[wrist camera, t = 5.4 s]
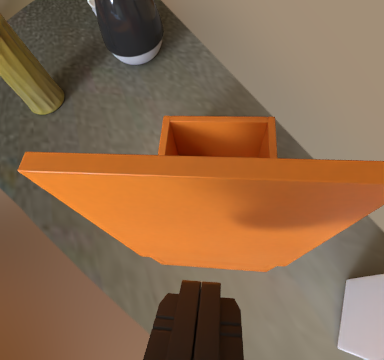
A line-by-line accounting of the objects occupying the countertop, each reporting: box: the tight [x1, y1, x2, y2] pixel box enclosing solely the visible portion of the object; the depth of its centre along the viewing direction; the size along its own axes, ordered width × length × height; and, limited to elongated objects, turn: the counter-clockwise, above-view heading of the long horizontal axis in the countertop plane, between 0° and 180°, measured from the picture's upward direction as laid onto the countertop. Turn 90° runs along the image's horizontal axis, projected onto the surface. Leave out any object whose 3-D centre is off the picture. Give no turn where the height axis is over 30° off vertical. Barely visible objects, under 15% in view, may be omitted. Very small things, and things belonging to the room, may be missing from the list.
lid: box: [18, 152, 384, 266], centre depth 16 cm, size 16×13×1 cm
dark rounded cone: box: [94, 0, 164, 65], centre depth 41 cm, size 10×10×15 cm
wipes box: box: [151, 116, 277, 272], centre depth 31 cm, size 16×13×9 cm
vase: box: [0, 13, 64, 115], centre depth 39 cm, size 6×6×14 cm
